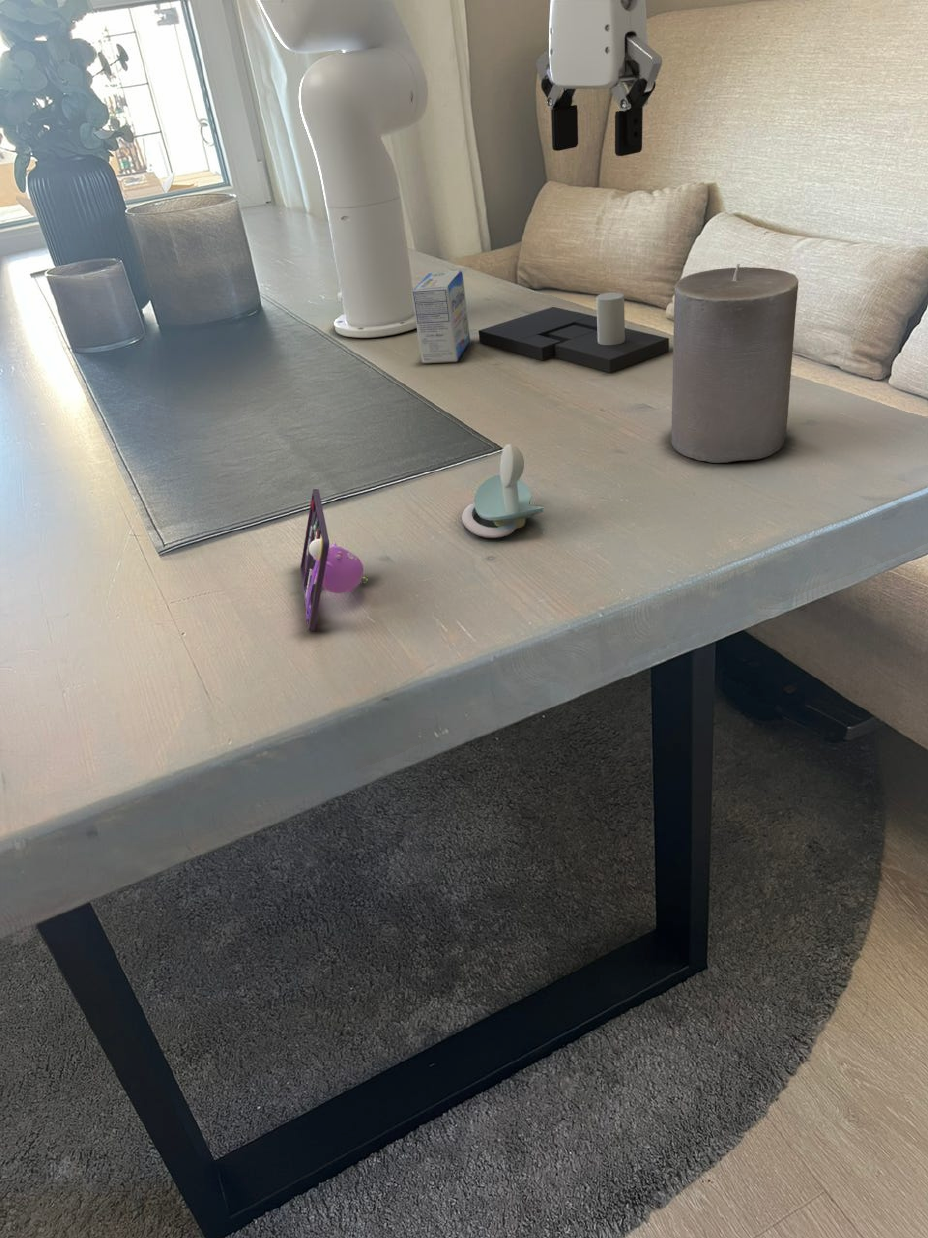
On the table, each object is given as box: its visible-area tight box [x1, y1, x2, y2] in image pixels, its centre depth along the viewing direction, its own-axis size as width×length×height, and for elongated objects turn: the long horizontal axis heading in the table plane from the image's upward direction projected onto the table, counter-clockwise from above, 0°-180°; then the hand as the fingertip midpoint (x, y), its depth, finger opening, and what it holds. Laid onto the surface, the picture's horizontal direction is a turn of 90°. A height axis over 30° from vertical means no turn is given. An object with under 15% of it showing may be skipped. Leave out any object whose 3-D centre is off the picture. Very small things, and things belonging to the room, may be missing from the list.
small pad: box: [549, 291, 670, 374], centre depth 106 cm, size 13×9×6 cm
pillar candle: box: [670, 263, 799, 464], centre depth 78 cm, size 10×10×15 cm
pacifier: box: [461, 443, 544, 539], centre depth 72 cm, size 7×6×6 cm
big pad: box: [478, 306, 597, 361], centre depth 113 cm, size 12×12×2 cm
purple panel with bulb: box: [299, 488, 369, 632], centre depth 66 cm, size 7×5×9 cm
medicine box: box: [412, 270, 471, 364], centre depth 111 cm, size 8×4×9 cm, turn 168°
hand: (595, 151), depth 98 cm, fingers open, 9 cm apart
